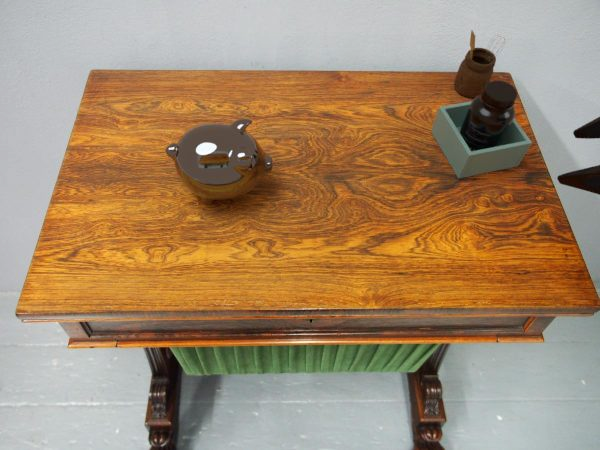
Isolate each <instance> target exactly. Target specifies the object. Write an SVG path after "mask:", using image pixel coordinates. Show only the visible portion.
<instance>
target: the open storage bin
mask: <svg viewBox="0 0 600 450" xmlns="http://www.w3.org/2000/svg"><path fill="white" fill-rule="evenodd" d="M472 101H473V100H470V101H464V102H460V103H452V104H448V105H443V106H439V107H438V110H437V112H436V115H435V118H434V121H433V123H432V127H431V129H430V133H431V134H432V136H433V137H434V139H435V141H436V142H437V145H438V146H439V148H440V151H442V153H443V155H444V157H445V158H446V160H447V162H448V164H449V165H450V167H451V169H452V170H453V172H454V174H455V176H456V178H458V180H459V179H465V178H468V177H473V176H477V175H478V176H479V175H482V174H483V175H484V174H486V173H488V174H489V173H492V172H496V171H497V172H498V171H502V170H507V169H511V168H516V167H517V168H518V166H520V164H521V162H522V160H523V159H524V157H525V155H526V154H527V152H528V150H529V149H530V148H531V145H533V142H532V141H531V139H530V138H529V136H528V135H527V133H526V132H525V131H524V129H523V128H522V127H521V124H520V123H519V122H518V121H517V120H516V118H515V117H514V119H513V121H512V123H511V125H510V127H509V129H508V131H507V133H506V135H505V137H504V139H503V141H502V142H501V144H500V146H497V147H492V148H487V149H482V150H476V151H472V152H471V150H470V149H469V147H468V145H467V144H466V142H465V141H464V139H463V137H462V136H461V134H460V133H459V131H460V129H461V126H462V124H463V121H464V119H465V116H466V114H467V112H468V109H469V107H470V104H471V102H472Z"/></svg>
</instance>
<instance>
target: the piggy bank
mask: <svg viewBox="0 0 600 450" xmlns="http://www.w3.org/2000/svg"><path fill="white" fill-rule="evenodd" d="M252 123H253V120H252V119H250V118H245V117H244V118H238V119H235V120H234V121H232V123H223V122H207V123H202V124H198V125H195V126H193V127H191V128H189V129H188V130H187V131H185V132H184V133H183V134H182V135H181V136H180V137H179V139H178V141H177V142H171V143H170V144H168V145H167V146H166V147H165V150H164V152H165V154H166V156H167V157H169V158H170V159H171V160H172V161H173V164H174V168H175V171H176V174H177V176H178V178H179V180H180V181H181V183H182V184H183V186H184V187H185V188H186V189H187V190H188V191H189V192H191V193H192V194H194V195H196V196H197V197H200V201H201V203H202V204H203V205H204V206H207V205H211V204H212V203H214V200H215V201H219V200H229V199H230V200H231V201H232V202H233V203H236V204H240V203H242V202H243V200H244V197H245V195H246V194H247V193H249V192H251V191H252V190H253V189H254V188H255V187H256V186H258V185H259V184H260V183H261V182H262V181H263V179H264V178H265V177H266V176H268V175H269V174H270V173H272V171H273V167H274V166H273V165H274V161H273V157H272V156H271V155H269V154H268V153H267V152H266V151H264V149H263V147H262V146H261V144H260V143H259V141H258V140H257V139H256V138H255V137H254V135H252V133H250V132H248V131H247V128H248V127H249V126H250V125H251V124H252Z"/></svg>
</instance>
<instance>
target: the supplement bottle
mask: <svg viewBox="0 0 600 450" xmlns="http://www.w3.org/2000/svg"><path fill="white" fill-rule="evenodd" d="M517 98H518V90H517V89H516V87H515V86H514V85H513V84H511V83H509V82H508V81H504V80H491V81H490V82H489V83H488V84H487V85H486V86H485V88H484V90H483V92H482V94H480V95H478V96H477V97H474V98H473V99H472V100H471V101H472V102H471V104H470V107H469V109H468V112H467V114H466V116H465V119H464V121H463V124H462V126H461V129H460V131H459V133H460V134H461V136H462V137H463V139H464V141H465V142H466V144H467V145H468V147H469V149H470V150H471V152H472V151H476V150H482V149H487V148H492V147H497V146H500V144H501V142H502V141H503V139H504V137H505V135H506V133H507V131H508V129H509V127H510V125H511V123H512V121H513V119H514V118H515V117H516V108H515V106H514V105H515V103H516V100H517Z"/></svg>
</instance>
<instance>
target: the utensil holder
mask: <svg viewBox="0 0 600 450" xmlns="http://www.w3.org/2000/svg"><path fill="white" fill-rule="evenodd" d="M470 32H471V33H470V38H469V47H470V49H469V50H468V51H467V53H466V54H465V56H464V59H463V60H462V61H461V62H460V65H459V67H458V70H457V73H456V75H455V78H454V80H453V87H454V89H455V91H456V92H457V93H458V94H459V95H461V96H463V97H466V98H470V99H471V98H473V99H474V98H475V97H477V96H478V95H480V94H482V92H483V90H484V88H485V86H486V85H487V84H488V83H489V82H491V80H492V77H493V75H494V67H495V66H496V61H497V56H498V55H499V54H500V53H501V51H502V50H503V48H504V46H505V45H506V38H505V36H503V35H501V34H497V35H496V37H495V36H494V37H492V39H494V40H490V41H489V43H488V45H489V46H492V43H493V42H494V41H495V40H496V39H497V37H498V38H499V39H498V40H497V42H496V44H495V45H496V46H494V47H493V49H492V50H490V49H491V48H489V46H487V47H486V48H484V47H476V34H475V32H474V29H471V31H470ZM501 40H502V41H501ZM500 41H501V45H500V46H499V48H498V50H497V51H496V54H494V53H493V52H494V50H495V49H496V48H497V46H498V45H499V43H498V42H500Z"/></svg>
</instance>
